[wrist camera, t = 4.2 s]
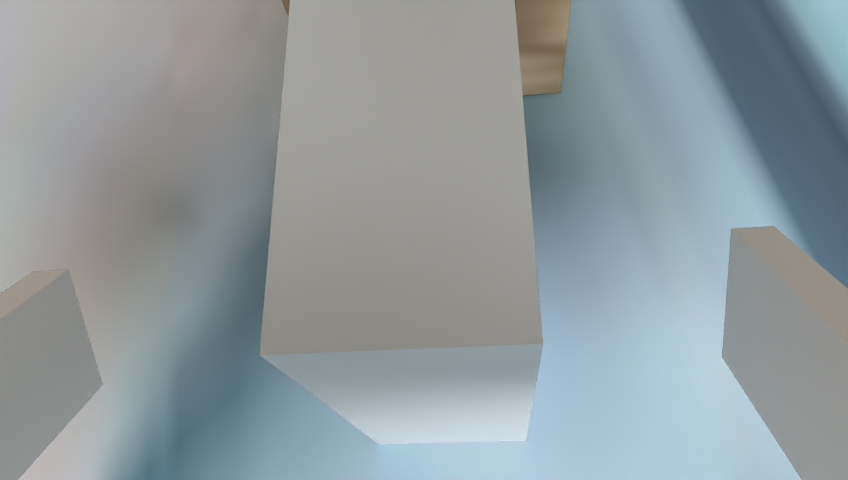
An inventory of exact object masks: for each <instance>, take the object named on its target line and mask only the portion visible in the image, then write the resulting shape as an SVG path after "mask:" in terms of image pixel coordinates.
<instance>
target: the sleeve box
mask: <svg viewBox="0 0 848 480" xmlns="http://www.w3.org/2000/svg"><path fill="white" fill-rule="evenodd" d="M282 2H283V5H284V7H285V9H286V12H287V14H288V17H289V7H290V0H282ZM570 8H571V0H515V10H516V22H517V34H518V46H519V58H520V71H521V83H522V95H534V94H547V93H560V92H561V86H562V77H563V69H564V60H565V51H566V43H567V34H568V25H569V16H570Z"/></svg>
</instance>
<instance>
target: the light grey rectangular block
mask: <svg viewBox="0 0 848 480" xmlns="http://www.w3.org/2000/svg"><path fill="white" fill-rule="evenodd" d="M542 347H543V338H542V326H541V313H540V301H539V289H538V277H537V265H536V253H535V241H534V228H533V216H532V204H531V192H530V180H529V168H528V156H527V143H526V131H525V119H524V107H523V95H522V83H521V71H520V58H519V46H518V34H517V22H516V10H515V0H290V7H289V19H288V31H287V42H286V54H285V65H284V77H283V88H282V100H281V112H280V123H279V135H278V146H277V158H276V169H275V181H274V193H273V204H272V216H271V227H270V239H269V251H268V262H267V274H266V285H265V297H264V308H263V320H262V332H261V343H260V356H261V357H263V358H264V359H265V360H267V361H268V362H269V363H271V364H272V365H273V366H275V367H276V368H277V369H279V370H280V371H281V372H283V373H284V374H285V375H287V376H288V377H290V378H291V379H292V380H294V381H295V382H296V383H298V384H299V385H300V386H302V387H303V388H304V389H306V390H307V391H308V392H310V393H311V394H312V395H314V396H315V397H316V398H318V399H319V400H320V401H322V402H323V403H324V404H326V405H327V406H328V407H330V408H331V409H332V410H334V411H335V412H336V413H338V414H339V415H340V416H342V417H343V418H344V419H346V420H347V421H348V422H350V423H351V424H352V425H354V426H355V427H356V428H358V429H359V430H360V431H362V432H363V433H364V434H366V435H367V436H368V437H370V438H371V439H372V440H374V441H375V442H376V443H378V444H404V443H442V442H480V441H518V440H526V438H527V433H528V427H529V421H530V415H531V410H532V404H533V398H534V393H535V387H536V381H537V375H538V370H539V364H540V358H541V352H542Z"/></svg>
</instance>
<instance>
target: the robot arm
mask: <svg viewBox="0 0 848 480" xmlns="http://www.w3.org/2000/svg"><path fill="white" fill-rule="evenodd" d="M722 358H723V359H724V361H725V362H726V364H727V365H728V367H729V369H730V370H731V372H732V373H733V375H734V376H735V378H736V379H737V381H738V382H739V384H740V385H741V387H742V389H743V390H744V392H745V393H746V395H747V396H748V398H749V399H750V401H751V402H752V404H753V406H754V407H755V409H756V410H757V412H758V413H759V415H760V416H761V418H762V419H763V421H764V422H765V424H766V426H767V427H768V429H769V430H770V432H771V433H772V435H773V436H774V438H775V439H776V441H777V443H778V444H779V446H780V447H781V449H782V450H783V452H784V453H785V455H786V456H787V458H788V459H789V461H790V463H791V464H792V466H793V467H794V469H795V470H796V472H797V473H798V475H799V476H800V478H801V480H848V288H846V287H845V286H844V285H843V284H842V283H840V282H839V281H838V280H837V279H836V278H835V277H833V276H832V275H831V274H830V273H829V272H827V271H826V270H825V269H824V268H823V267H822V266H820V265H819V264H818V263H817V262H816V261H814V260H813V259H812V258H811V257H810V256H809V255H807V254H806V253H805V252H804V251H803V250H801V249H800V248H799V247H798V246H797V245H795V244H794V243H793V242H792V241H791V240H790V239H788V238H787V237H786V236H785V235H784V234H782V233H781V232H780V231H779V230H778V229H777V228H775V227H774V226H768V227H752V228H736V229H731V238H730V252H729V266H728V280H727V294H726V307H725V321H724V335H723V349H722ZM102 385H103V384H102V380H101V377H100V374H99V370H98V367H97V364H96V360H95V357H94V354H93V350H92V347H91V344H90V340H89V337H88V334H87V330H86V327H85V324H84V320H83V317H82V314H81V310H80V307H79V304H78V300H77V297H76V294H75V290H74V287H73V284H72V280H71V277H70V274H69V271H68V270H51V271H35V272H32V273H30V274H29V275H27V276H26V277H24V278H23V279H22V280H20V281H19V282H17V283H16V284H14V285H13V286H11V287H10V288H8V289H7V290H5V291H4V292H2V293H1V294H0V480H18V479H19V478H20V477H21V475H22V474H23V473H24V472H25V471H26V470H27V469H28V468H29V467H30V465H31V464H32V463H33V462H34V461H35V460H36V459H37V458H38V456H39V455H40V454H41V453H42V452H43V451H44V450H45V449H46V447H47V446H48V445H49V444H50V443H51V442H52V441H53V440H54V439H55V437H56V436H57V435H58V434H59V433H60V432H61V431H62V430H63V428H64V427H65V426H66V425H67V424H68V423H69V422H70V421H71V420H72V418H73V417H74V416H75V415H76V414H77V413H78V412H79V411H80V409H81V408H82V407H83V406H84V405H85V404H86V403H87V402H88V401H89V399H90V398H91V397H92V396H93V395H94V394H95V393H96V392H97V390H98V389H99V388H100V387H101V386H102Z"/></svg>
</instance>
